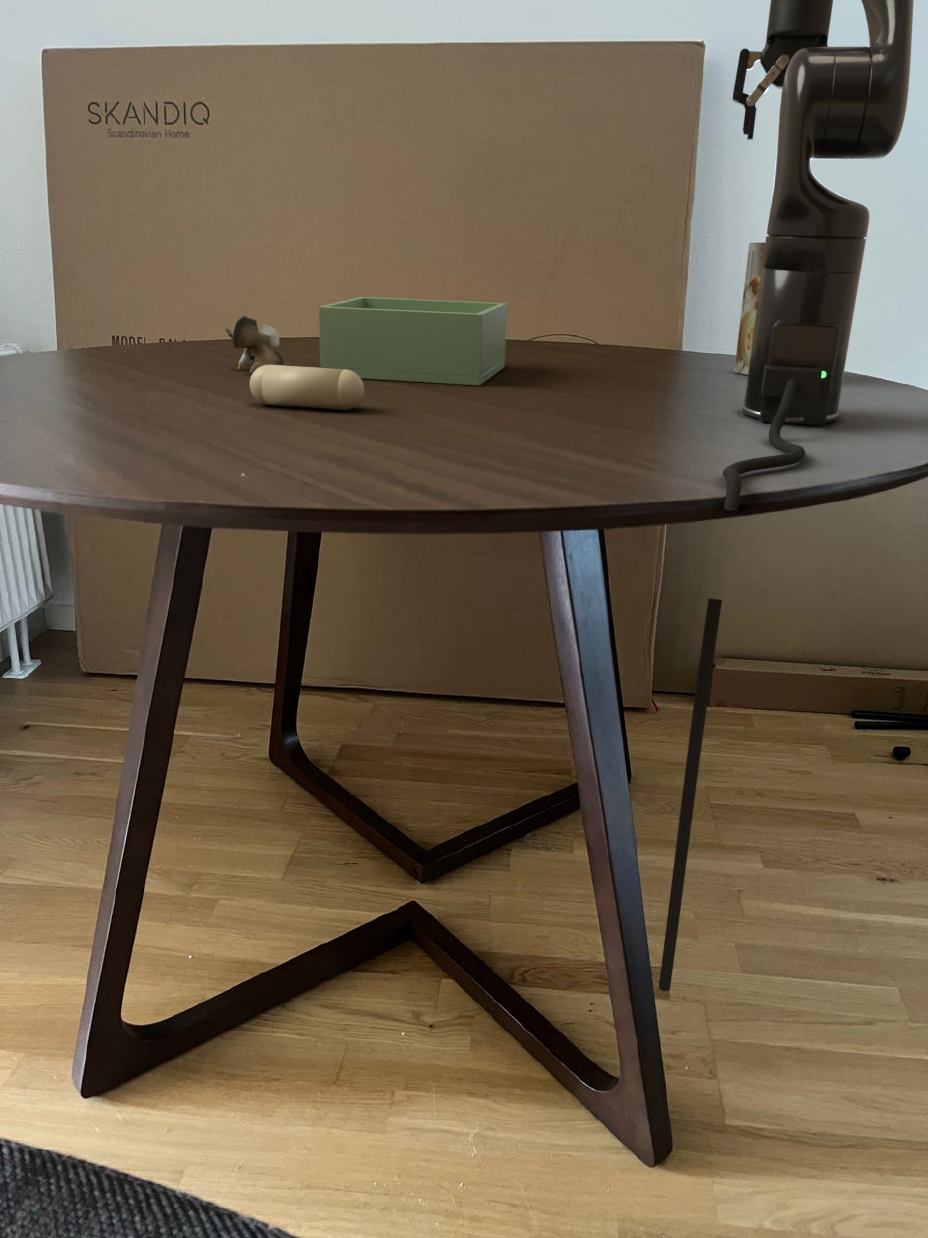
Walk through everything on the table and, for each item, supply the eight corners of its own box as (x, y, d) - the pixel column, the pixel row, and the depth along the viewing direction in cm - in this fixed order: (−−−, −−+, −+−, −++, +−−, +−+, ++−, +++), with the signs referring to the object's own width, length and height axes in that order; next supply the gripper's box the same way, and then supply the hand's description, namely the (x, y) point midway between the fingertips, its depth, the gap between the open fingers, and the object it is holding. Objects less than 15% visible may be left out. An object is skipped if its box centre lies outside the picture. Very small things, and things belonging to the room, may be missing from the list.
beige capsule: (357, 414, 98) (356, 373, 96) (244, 406, 100) (241, 366, 99) (369, 407, 102) (369, 367, 100) (260, 400, 104) (258, 361, 102)
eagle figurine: (209, 356, 124) (218, 352, 116) (236, 306, 125) (247, 298, 116) (263, 388, 128) (275, 386, 119) (289, 339, 128) (304, 334, 119)
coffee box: (818, 380, 125) (839, 244, 119) (778, 383, 122) (798, 244, 116) (769, 370, 133) (786, 241, 126) (730, 372, 130) (746, 241, 124)
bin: (479, 385, 116) (481, 314, 113) (320, 376, 119) (318, 306, 116) (504, 367, 130) (507, 303, 127) (361, 359, 134) (360, 296, 130)
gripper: (744, -9, 122) (728, 137, 128) (866, -12, 119) (843, 137, 125) (743, 3, 129) (727, 141, 135) (858, 1, 126) (837, 142, 132)
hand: (783, 139), depth 130 cm, fingers open, 8 cm apart
